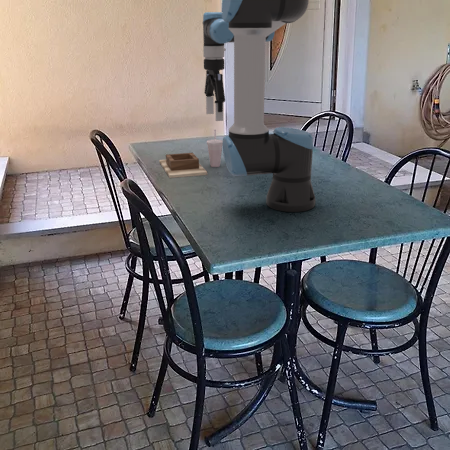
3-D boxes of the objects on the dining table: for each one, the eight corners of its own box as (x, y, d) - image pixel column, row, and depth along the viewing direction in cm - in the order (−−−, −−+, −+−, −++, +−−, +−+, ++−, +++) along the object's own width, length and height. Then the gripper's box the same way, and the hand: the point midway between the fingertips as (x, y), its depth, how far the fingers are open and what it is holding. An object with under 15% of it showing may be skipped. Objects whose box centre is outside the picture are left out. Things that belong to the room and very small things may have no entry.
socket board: (207, 174, 194) (207, 162, 192) (169, 178, 190) (169, 165, 188) (193, 159, 213) (193, 148, 211) (159, 162, 210) (158, 151, 208)
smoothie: (224, 163, 208) (224, 128, 202) (222, 168, 202) (222, 131, 196) (208, 163, 208) (207, 128, 203) (206, 167, 202) (205, 131, 197)
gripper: (234, 61, 180) (233, 123, 188) (215, 54, 202) (215, 110, 210) (212, 61, 178) (213, 124, 186) (196, 55, 200) (197, 111, 208)
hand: (214, 117), depth 198 cm, fingers open, 13 cm apart
